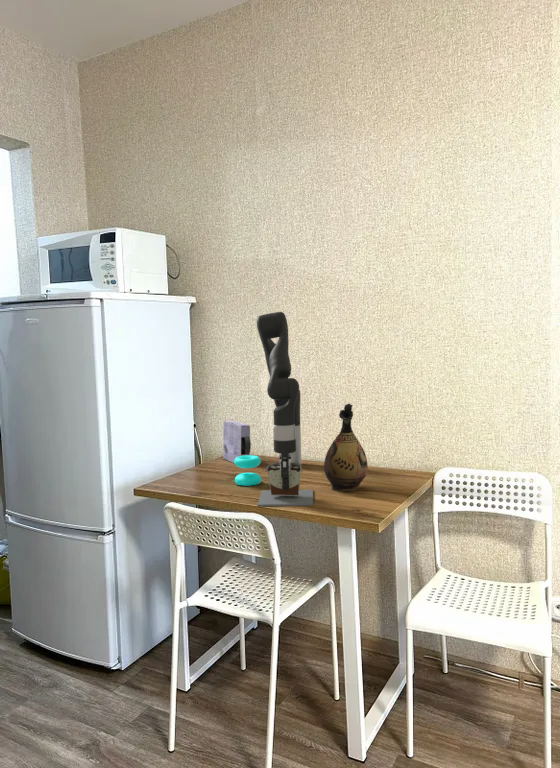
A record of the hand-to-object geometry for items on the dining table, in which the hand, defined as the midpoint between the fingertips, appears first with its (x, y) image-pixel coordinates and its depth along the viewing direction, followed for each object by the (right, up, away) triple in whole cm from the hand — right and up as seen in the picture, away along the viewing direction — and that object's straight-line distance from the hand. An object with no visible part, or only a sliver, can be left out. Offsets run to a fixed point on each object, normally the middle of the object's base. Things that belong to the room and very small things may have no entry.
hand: (286, 487), depth 205 cm
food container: (0, -2, +1) cm, 3 cm away
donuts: (-14, -3, +23) cm, 27 cm away
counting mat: (0, -4, 0) cm, 4 cm away
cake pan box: (-21, 0, +62) cm, 65 cm away
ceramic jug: (+22, -3, +12) cm, 25 cm away
